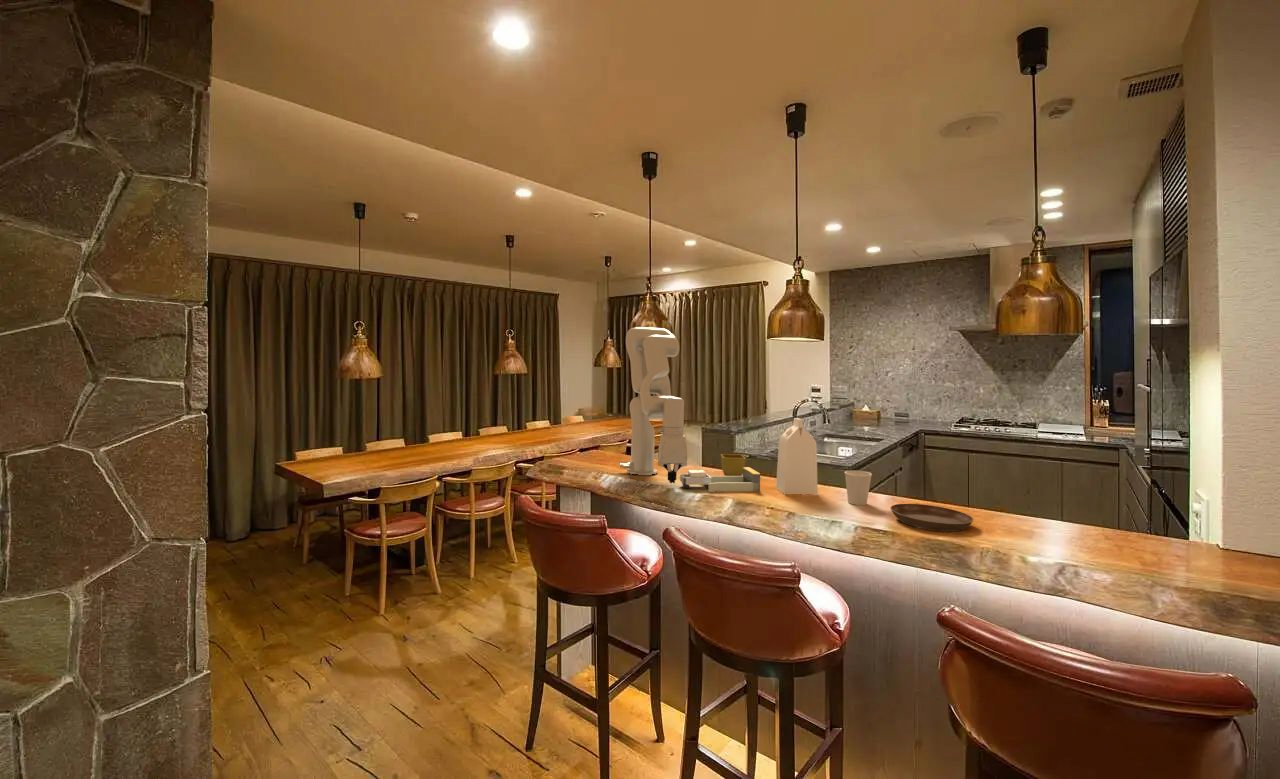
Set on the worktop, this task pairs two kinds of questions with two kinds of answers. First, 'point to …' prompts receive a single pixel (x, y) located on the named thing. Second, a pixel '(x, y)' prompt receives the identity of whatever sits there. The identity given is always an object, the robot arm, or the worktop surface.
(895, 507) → the plant saucer
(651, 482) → the worktop surface
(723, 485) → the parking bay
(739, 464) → the flower pot
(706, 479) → the trolley
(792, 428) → the milk
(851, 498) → the dixie cup
